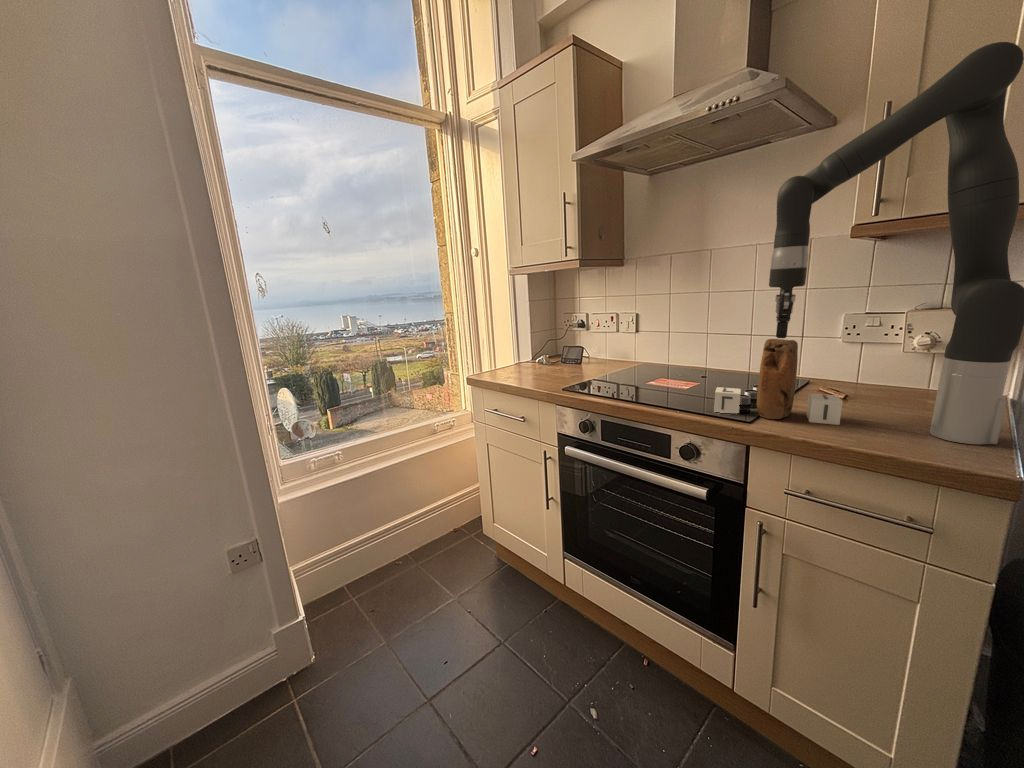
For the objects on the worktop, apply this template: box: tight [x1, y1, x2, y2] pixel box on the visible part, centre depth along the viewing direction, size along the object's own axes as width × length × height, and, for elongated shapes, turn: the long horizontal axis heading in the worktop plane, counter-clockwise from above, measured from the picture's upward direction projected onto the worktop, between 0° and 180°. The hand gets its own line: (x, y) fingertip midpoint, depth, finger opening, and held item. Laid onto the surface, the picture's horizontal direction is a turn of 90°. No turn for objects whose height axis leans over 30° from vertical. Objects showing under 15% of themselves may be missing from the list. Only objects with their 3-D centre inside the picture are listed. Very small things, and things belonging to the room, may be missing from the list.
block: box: [756, 338, 799, 420], centre depth 107 cm, size 11×8×20 cm
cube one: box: [806, 393, 844, 426], centre depth 103 cm, size 6×6×6 cm
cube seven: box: [713, 386, 742, 414], centre depth 114 cm, size 6×6×6 cm
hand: (781, 337), depth 104 cm, fingers closed
